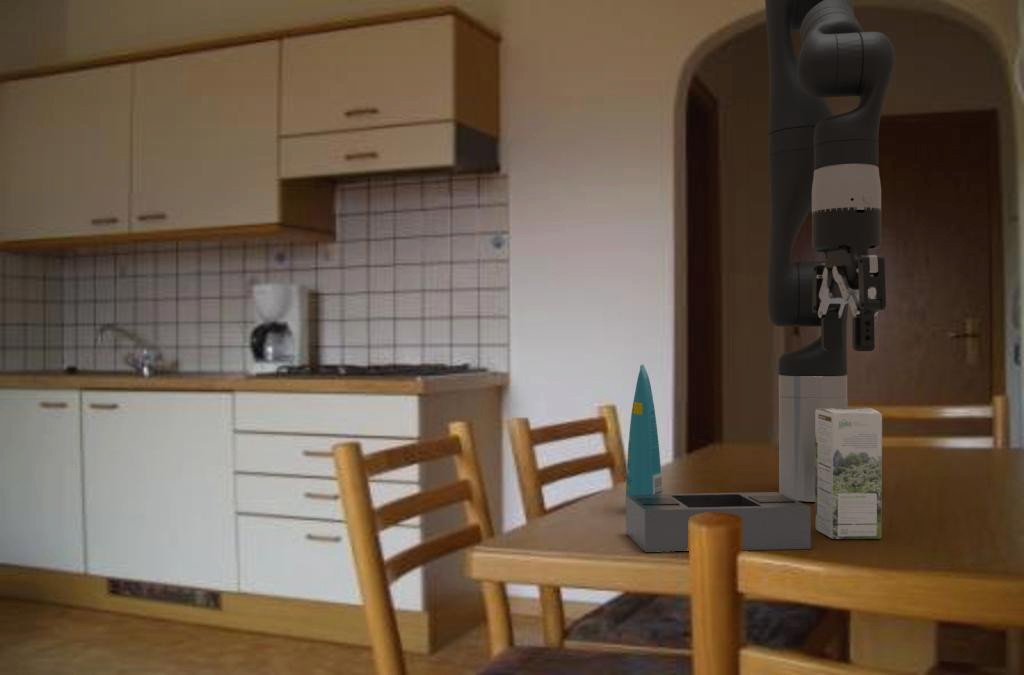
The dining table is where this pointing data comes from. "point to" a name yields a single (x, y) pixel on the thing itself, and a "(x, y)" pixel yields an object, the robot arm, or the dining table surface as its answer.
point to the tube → (643, 442)
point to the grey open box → (763, 513)
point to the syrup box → (848, 472)
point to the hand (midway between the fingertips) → (847, 350)
